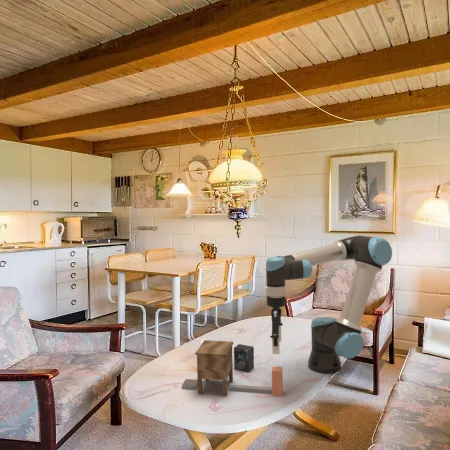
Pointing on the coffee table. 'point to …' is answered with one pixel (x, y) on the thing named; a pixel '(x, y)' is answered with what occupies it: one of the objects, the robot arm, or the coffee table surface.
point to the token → (190, 384)
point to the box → (243, 357)
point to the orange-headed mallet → (274, 390)
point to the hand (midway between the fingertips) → (277, 347)
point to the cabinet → (214, 363)
